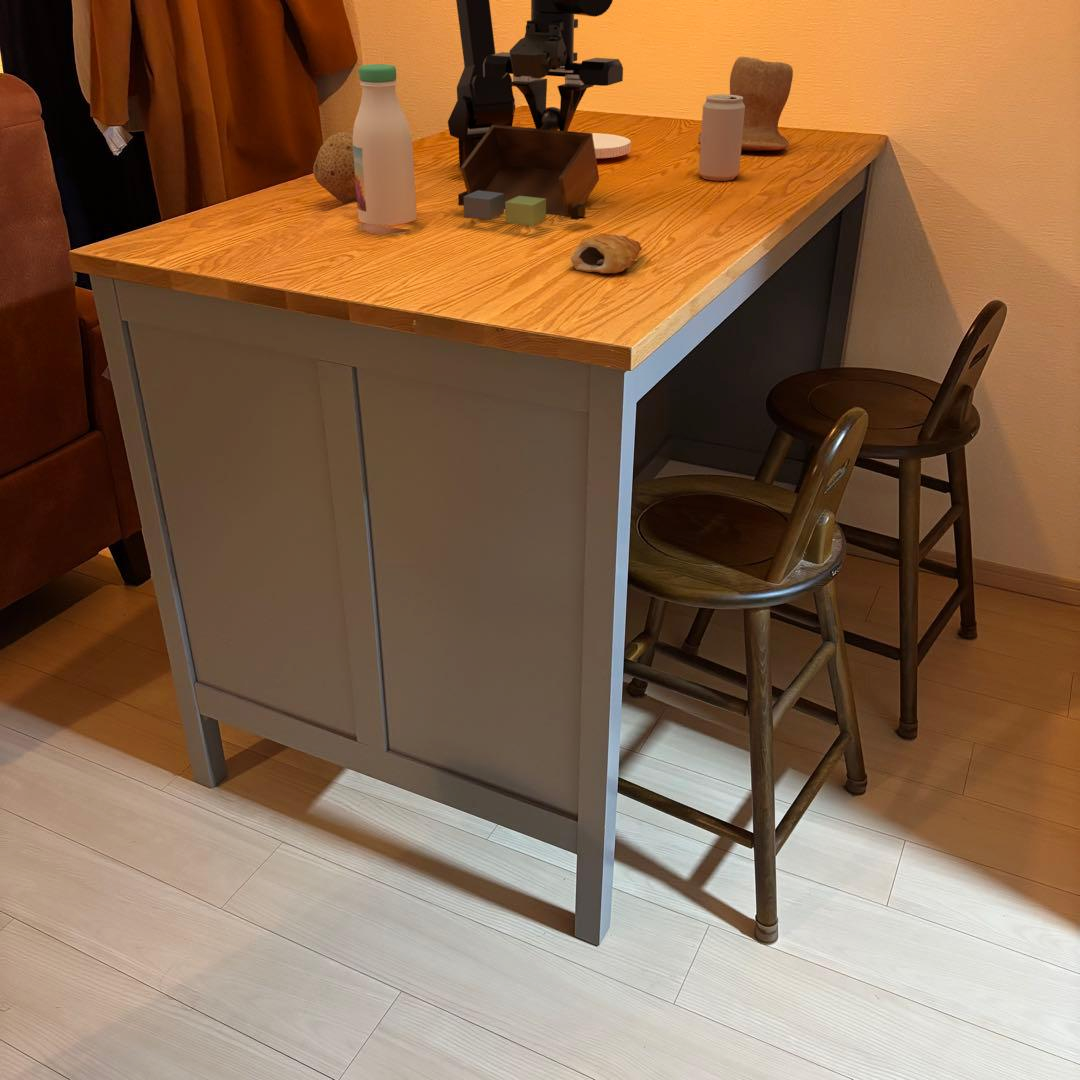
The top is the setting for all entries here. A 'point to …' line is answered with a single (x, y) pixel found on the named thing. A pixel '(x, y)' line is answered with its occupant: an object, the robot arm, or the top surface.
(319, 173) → the natural sponge
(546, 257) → the top surface
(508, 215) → the sage block
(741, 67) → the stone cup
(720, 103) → the beverage can
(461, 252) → the top surface
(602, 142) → the plastic lid
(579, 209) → the pivot brackets
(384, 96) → the milk bottle
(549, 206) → the bin
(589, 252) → the pastry
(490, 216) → the slate block
